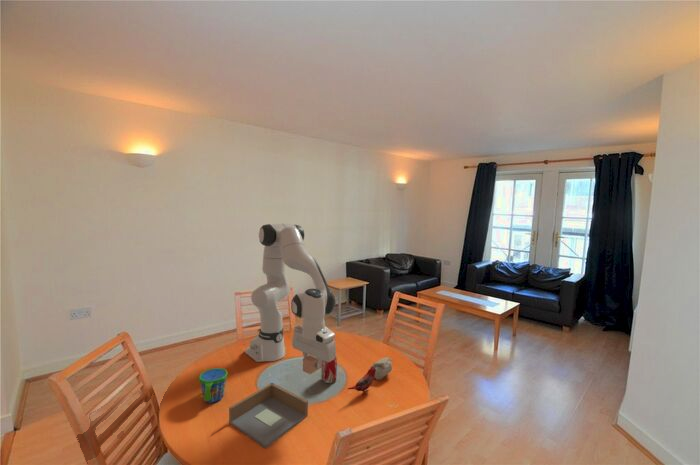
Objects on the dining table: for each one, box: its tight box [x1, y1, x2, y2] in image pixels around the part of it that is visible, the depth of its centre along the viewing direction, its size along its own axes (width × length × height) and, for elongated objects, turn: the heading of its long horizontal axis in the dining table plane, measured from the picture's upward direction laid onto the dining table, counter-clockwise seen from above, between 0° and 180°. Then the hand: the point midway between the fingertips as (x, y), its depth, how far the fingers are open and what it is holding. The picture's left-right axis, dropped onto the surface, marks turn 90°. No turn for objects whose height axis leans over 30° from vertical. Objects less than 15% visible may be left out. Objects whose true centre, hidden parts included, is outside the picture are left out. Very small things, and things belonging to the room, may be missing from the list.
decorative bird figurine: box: [347, 366, 376, 395], centre depth 133 cm, size 3×18×10 cm, turn 134°
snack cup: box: [198, 367, 228, 404], centre depth 129 cm, size 16×10×10 cm
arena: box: [228, 382, 309, 449], centre depth 117 cm, size 20×20×6 cm
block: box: [302, 354, 322, 375], centre depth 125 cm, size 7×4×5 cm, turn 145°
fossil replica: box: [370, 356, 393, 381], centre depth 149 cm, size 12×8×10 cm
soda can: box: [320, 356, 338, 384], centre depth 144 cm, size 7×7×12 cm
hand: (312, 364), depth 125 cm, fingers closed on block, 4 cm apart
